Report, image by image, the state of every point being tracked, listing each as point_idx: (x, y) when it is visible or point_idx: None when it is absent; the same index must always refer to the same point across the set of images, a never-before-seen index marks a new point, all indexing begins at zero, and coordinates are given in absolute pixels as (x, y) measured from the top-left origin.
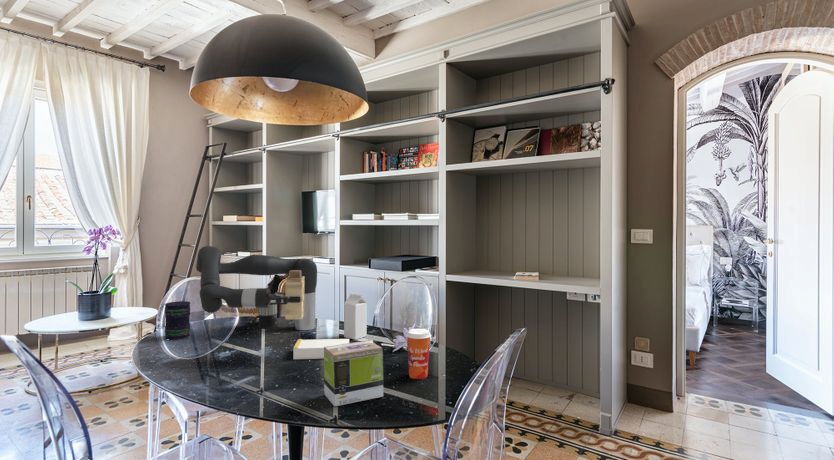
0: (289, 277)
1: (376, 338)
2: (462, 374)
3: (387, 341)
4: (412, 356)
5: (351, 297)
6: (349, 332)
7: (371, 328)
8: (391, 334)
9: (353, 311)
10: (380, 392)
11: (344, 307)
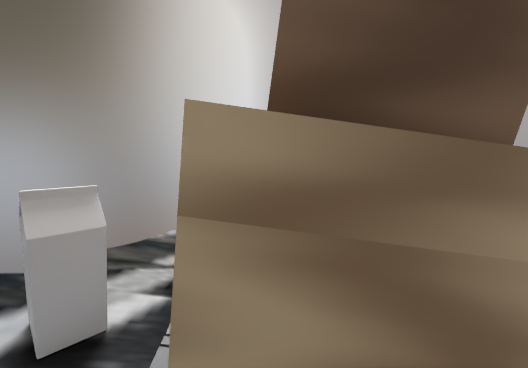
0: (505, 136)
1: (128, 286)
2: None
3: (170, 274)
4: None
5: (42, 204)
6: (74, 326)
7: (4, 279)
8: (114, 259)
9: (96, 249)
10: None
11: (31, 254)
